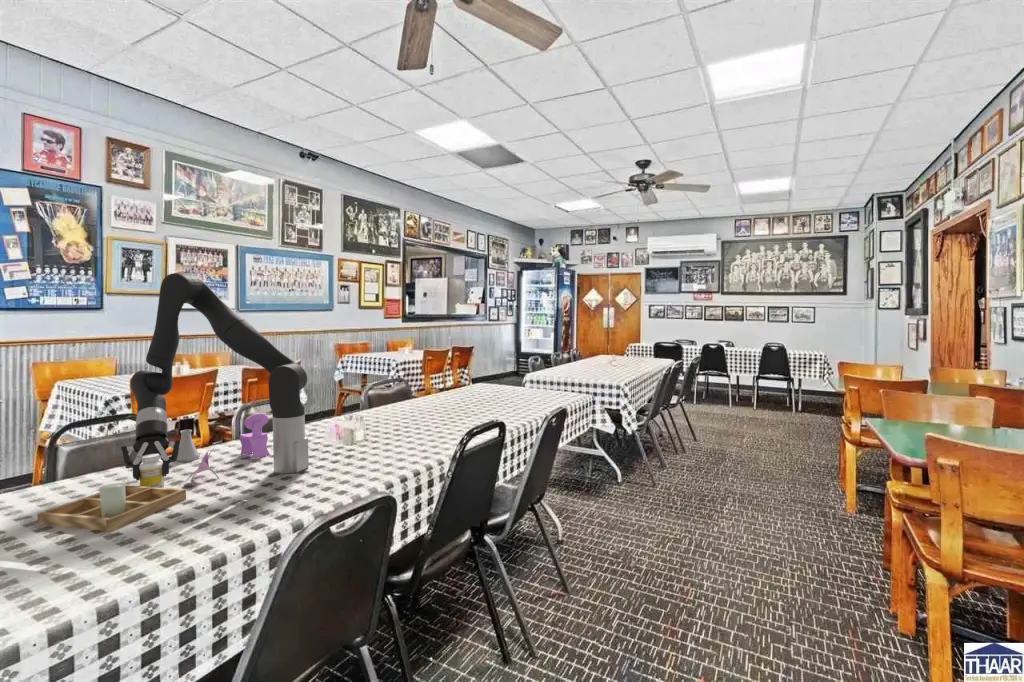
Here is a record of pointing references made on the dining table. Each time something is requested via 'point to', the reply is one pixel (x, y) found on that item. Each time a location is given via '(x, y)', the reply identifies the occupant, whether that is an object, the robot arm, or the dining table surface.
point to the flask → (187, 447)
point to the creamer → (112, 499)
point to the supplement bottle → (151, 471)
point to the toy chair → (255, 436)
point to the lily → (203, 465)
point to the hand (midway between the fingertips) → (151, 476)
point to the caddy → (89, 516)
